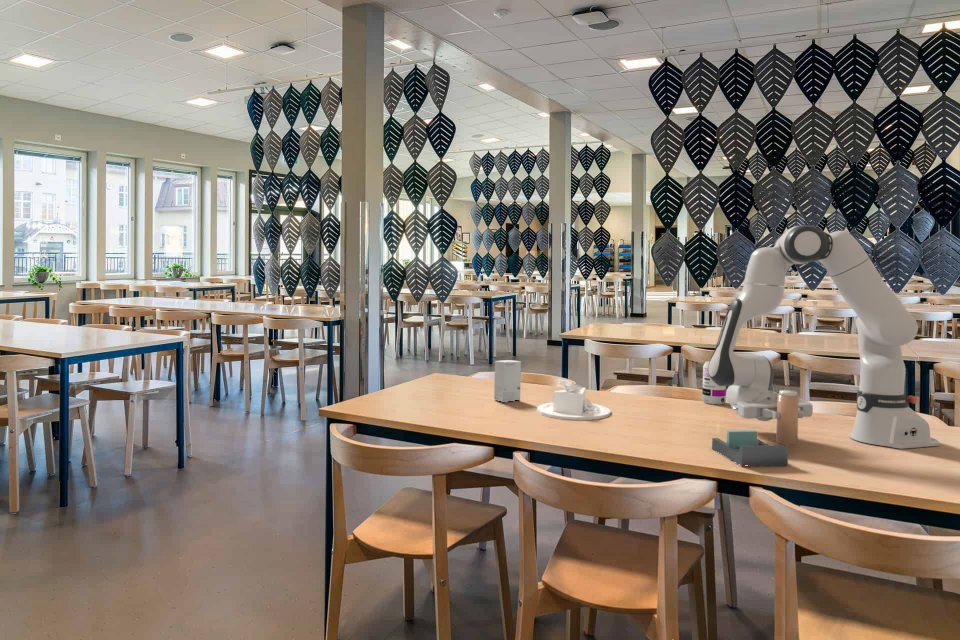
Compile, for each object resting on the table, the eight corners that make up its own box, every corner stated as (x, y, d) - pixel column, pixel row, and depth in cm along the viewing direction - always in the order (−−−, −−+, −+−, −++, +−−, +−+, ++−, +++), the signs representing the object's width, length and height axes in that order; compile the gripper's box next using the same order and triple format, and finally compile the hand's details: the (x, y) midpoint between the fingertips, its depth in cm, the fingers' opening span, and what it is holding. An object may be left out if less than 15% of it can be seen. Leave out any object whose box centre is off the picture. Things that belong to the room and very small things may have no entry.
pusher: (754, 451, 177) (754, 430, 176) (761, 455, 173) (762, 433, 173) (726, 452, 176) (727, 430, 176) (732, 455, 172) (733, 434, 172)
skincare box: (503, 403, 238) (503, 362, 237) (493, 400, 243) (493, 360, 242) (521, 400, 243) (521, 360, 242) (511, 398, 248) (511, 358, 246)
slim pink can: (790, 439, 181) (791, 389, 180) (801, 444, 176) (803, 393, 175) (772, 440, 181) (773, 389, 180) (782, 445, 176) (784, 393, 174)
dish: (591, 424, 208) (592, 389, 207) (523, 414, 222) (523, 381, 221) (622, 411, 228) (622, 379, 227) (558, 402, 242) (558, 372, 241)
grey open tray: (753, 448, 181) (754, 430, 181) (787, 466, 165) (788, 446, 164) (712, 448, 180) (712, 430, 179) (741, 466, 163) (742, 447, 163)
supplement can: (727, 402, 244) (729, 362, 243) (722, 405, 238) (724, 364, 236) (705, 399, 249) (706, 360, 248) (699, 403, 242) (701, 362, 241)
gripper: (728, 395, 189) (752, 404, 176) (795, 393, 191) (825, 402, 178) (727, 416, 190) (752, 428, 176) (795, 414, 192) (824, 425, 178)
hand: (789, 415), depth 177 cm, fingers closed on slim pink can, 5 cm apart
